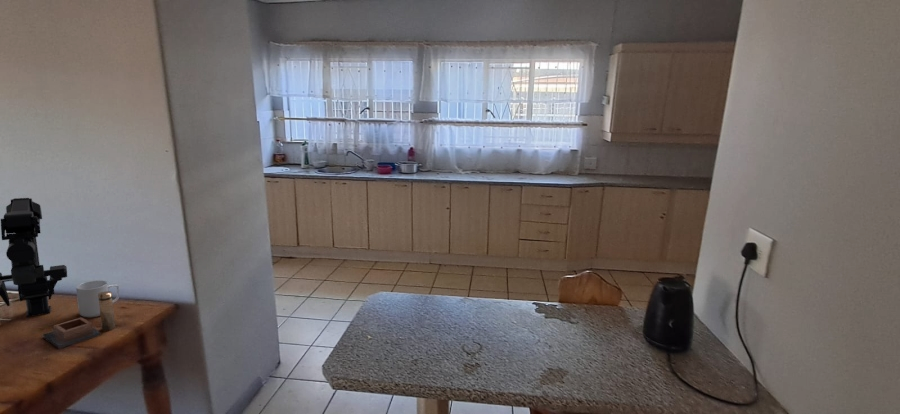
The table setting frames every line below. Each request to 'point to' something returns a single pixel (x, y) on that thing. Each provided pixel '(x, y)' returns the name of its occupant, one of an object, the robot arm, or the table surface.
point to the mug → (92, 297)
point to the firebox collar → (71, 332)
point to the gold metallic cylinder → (106, 310)
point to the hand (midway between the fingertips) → (29, 302)
